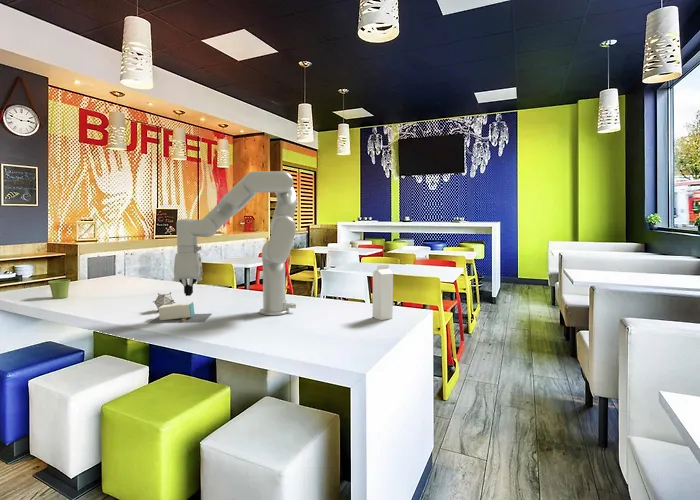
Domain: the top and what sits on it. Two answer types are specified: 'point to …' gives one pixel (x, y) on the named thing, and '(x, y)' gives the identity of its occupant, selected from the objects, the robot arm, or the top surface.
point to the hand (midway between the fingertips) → (188, 295)
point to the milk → (382, 293)
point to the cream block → (176, 311)
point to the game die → (163, 300)
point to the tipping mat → (183, 319)
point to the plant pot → (59, 288)
